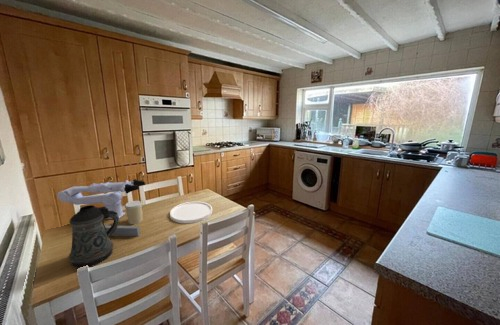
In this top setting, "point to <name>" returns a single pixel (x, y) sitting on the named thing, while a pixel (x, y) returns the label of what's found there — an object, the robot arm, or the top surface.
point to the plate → (191, 212)
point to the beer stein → (91, 236)
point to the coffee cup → (134, 212)
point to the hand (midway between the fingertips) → (141, 185)
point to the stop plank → (125, 230)
